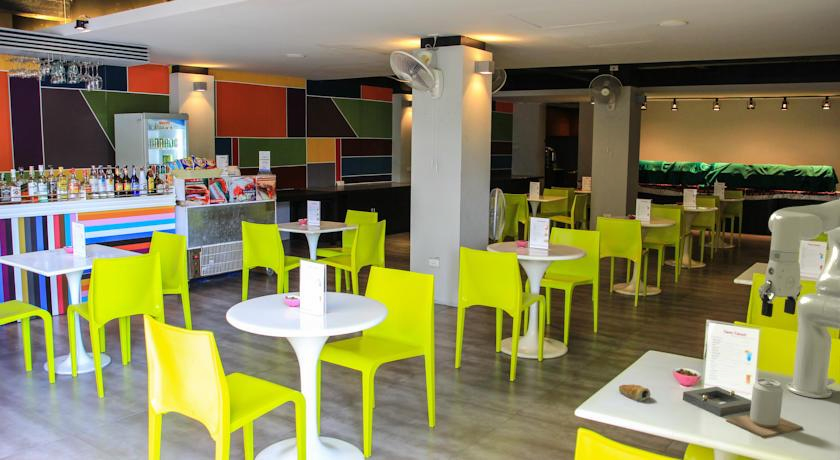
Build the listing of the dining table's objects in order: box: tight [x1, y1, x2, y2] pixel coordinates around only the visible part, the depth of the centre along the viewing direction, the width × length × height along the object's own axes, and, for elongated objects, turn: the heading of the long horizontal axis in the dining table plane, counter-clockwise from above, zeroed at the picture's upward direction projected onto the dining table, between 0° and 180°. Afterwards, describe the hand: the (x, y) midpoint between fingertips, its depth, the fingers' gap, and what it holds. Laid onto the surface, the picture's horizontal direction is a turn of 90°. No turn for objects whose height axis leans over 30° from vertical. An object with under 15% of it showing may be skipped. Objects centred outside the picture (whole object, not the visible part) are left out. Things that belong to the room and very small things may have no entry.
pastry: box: [618, 384, 651, 402], centre depth 220 cm, size 9×7×4 cm
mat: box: [725, 414, 804, 439], centre depth 201 cm, size 16×12×1 cm
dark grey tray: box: [682, 386, 752, 418], centre depth 215 cm, size 14×14×4 cm
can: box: [749, 377, 784, 427], centre depth 200 cm, size 8×8×12 cm
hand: (777, 314), depth 211 cm, fingers open, 9 cm apart
